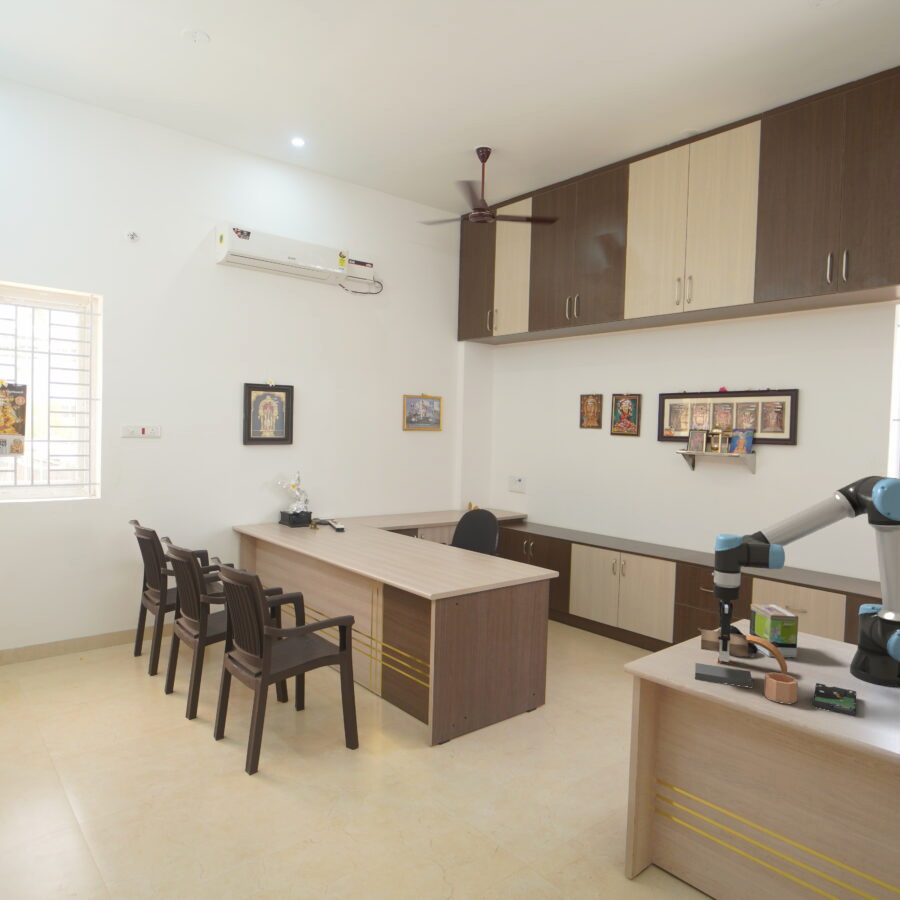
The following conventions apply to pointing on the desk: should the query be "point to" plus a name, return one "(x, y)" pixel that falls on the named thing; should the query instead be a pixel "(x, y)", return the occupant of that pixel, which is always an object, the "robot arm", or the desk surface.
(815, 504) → the robot arm
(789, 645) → the tea box
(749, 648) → the crystal cluster
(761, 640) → the arch
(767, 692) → the plant pot
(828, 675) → the desk surface
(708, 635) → the cover board
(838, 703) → the disk drive
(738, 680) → the block
